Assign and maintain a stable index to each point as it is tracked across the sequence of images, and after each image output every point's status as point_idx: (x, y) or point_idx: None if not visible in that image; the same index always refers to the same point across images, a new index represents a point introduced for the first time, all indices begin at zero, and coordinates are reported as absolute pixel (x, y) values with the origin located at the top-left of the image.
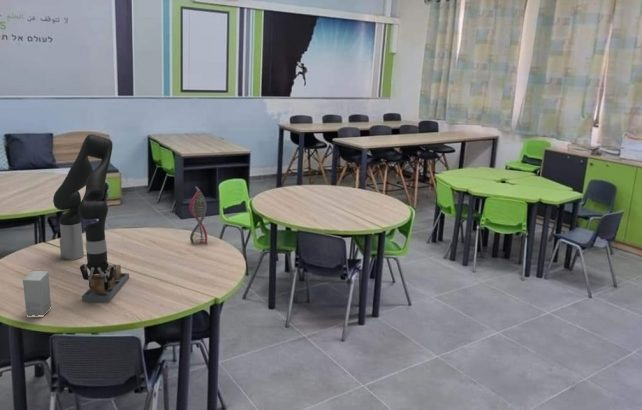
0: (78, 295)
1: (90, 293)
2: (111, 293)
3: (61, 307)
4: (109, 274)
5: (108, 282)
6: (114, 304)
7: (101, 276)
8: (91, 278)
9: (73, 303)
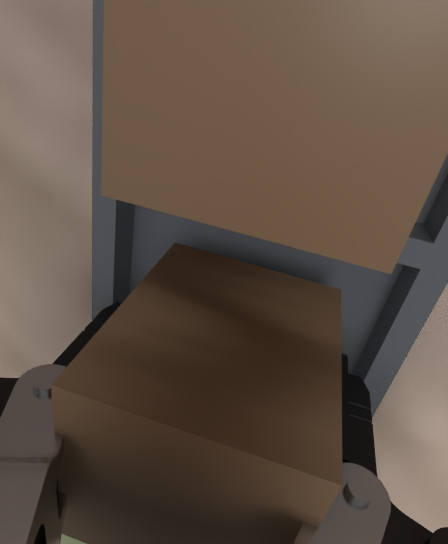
0: (36, 196)
1: (140, 240)
2: (384, 392)
3: (18, 376)
4: (388, 130)
5: (361, 463)
6: (400, 444)
7: (220, 507)
8: (67, 511)
9: (66, 341)
